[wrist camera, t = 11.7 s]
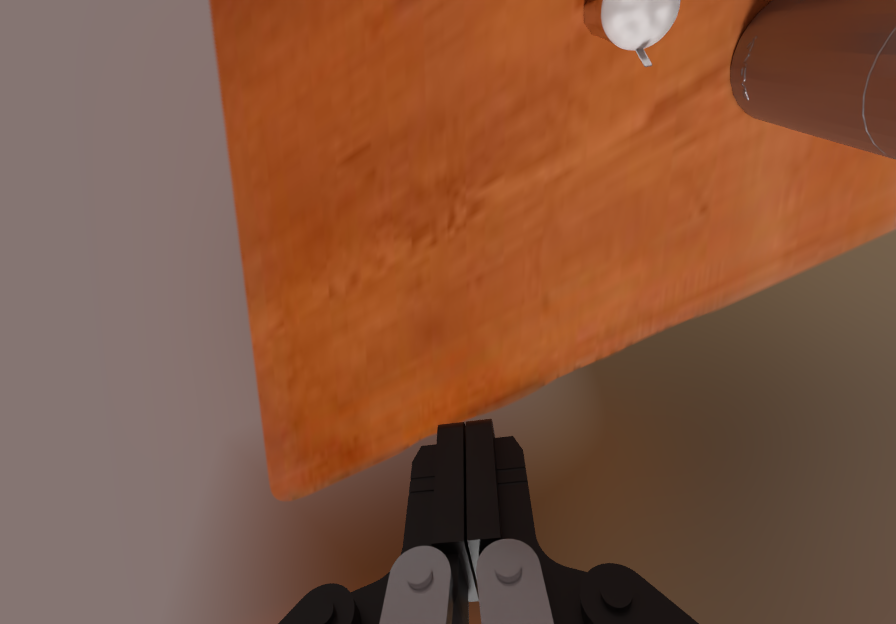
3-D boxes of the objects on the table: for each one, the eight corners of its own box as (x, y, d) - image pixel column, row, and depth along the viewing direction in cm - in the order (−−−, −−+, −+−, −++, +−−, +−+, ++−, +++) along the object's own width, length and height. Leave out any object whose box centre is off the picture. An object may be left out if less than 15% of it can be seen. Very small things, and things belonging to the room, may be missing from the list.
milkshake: (573, 63, 37) (608, 72, 28) (573, -21, 34) (611, -39, 25) (634, 53, 36) (688, 60, 28) (638, -32, 34) (699, -54, 25)
